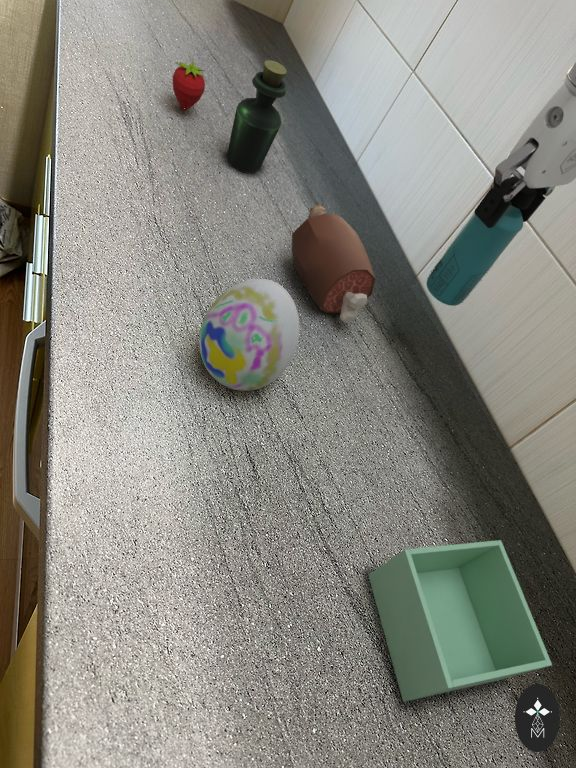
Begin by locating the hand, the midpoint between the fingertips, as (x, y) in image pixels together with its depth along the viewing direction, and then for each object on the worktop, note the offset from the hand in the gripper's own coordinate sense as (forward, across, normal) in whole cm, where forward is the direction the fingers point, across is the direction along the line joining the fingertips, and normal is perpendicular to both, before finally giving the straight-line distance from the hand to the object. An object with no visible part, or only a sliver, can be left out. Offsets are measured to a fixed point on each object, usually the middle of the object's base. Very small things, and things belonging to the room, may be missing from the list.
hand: (500, 216), depth 74 cm
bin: (+26, -26, -36) cm, 51 cm away
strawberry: (+25, -10, +61) cm, 66 cm away
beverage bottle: (+15, 0, 0) cm, 15 cm away
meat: (+25, -8, +14) cm, 30 cm away
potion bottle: (+25, -6, +45) cm, 52 cm away
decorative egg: (+25, -30, +4) cm, 40 cm away
